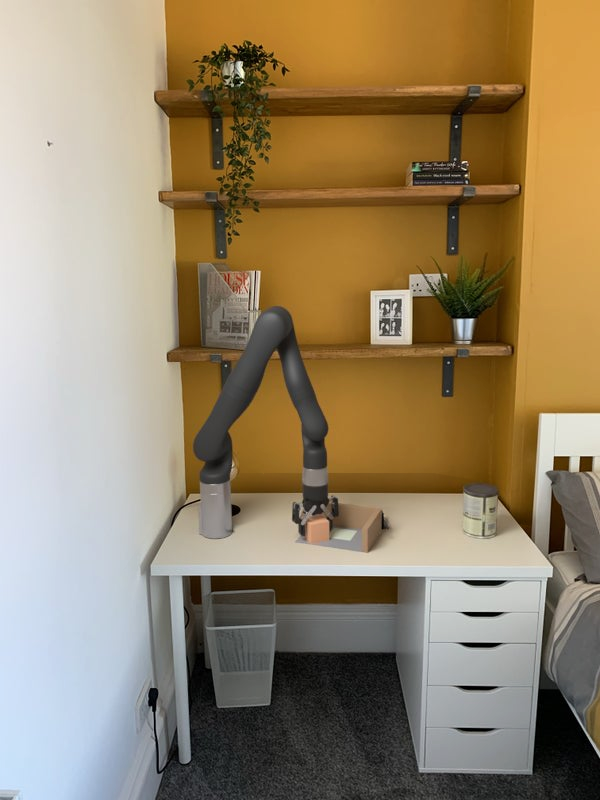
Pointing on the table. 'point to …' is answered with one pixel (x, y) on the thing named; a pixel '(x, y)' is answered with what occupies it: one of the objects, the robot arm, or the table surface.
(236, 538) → the table surface
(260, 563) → the table surface
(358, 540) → the arena
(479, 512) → the coffee can
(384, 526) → the black notched block
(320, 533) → the cube
